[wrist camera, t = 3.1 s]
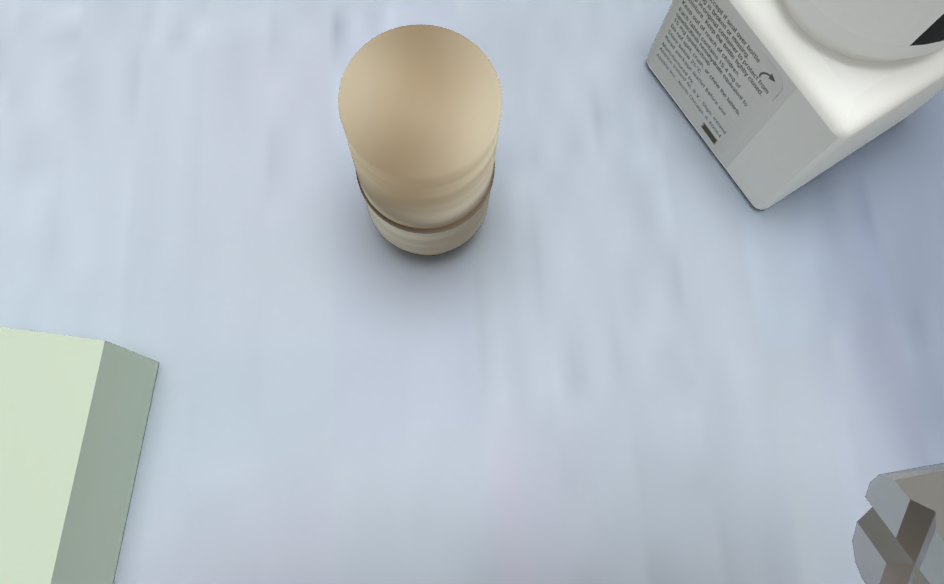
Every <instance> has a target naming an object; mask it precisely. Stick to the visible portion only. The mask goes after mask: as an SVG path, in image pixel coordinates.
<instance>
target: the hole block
mask: <svg viewBox="0 0 944 584" xmlns="http://www.w3.org/2000/svg"><path fill="white" fill-rule="evenodd" d="M158 365H159V362H157V361H155V360H152V359H150V358H147V357H145V356H142V355H140V354H137V353H135V352H132V351H130V350H127V349H125V348H122V347H120V346H117V345H115V344H112V343H110V342H107V341H104V340H96V339H88V338H81V337H73V336H65V335H58V334H50V333H42V332H35V331H27V330H19V329H12V328H4V327H0V584H113V581H114V576H115V571H116V567H117V562H118V557H119V552H120V548H121V543H122V538H123V533H124V528H125V524H126V519H127V514H128V509H129V504H130V500H131V495H132V490H133V485H134V480H135V476H136V471H137V466H138V461H139V456H140V452H141V447H142V442H143V437H144V432H145V428H146V423H147V418H148V413H149V408H150V404H151V399H152V394H153V389H154V384H155V380H156V375H157V370H158Z"/></svg>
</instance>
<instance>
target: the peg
mask: <svg viewBox="0 0 944 584" xmlns="http://www.w3.org/2000/svg"><path fill="white" fill-rule="evenodd" d="M338 106H339V113H340V119H341V122H342V125H343V128H344V132H345V135H346V138H347V142H348V145H349V148H350V152H351V155H352V158H353V161H354V165H355V168H356V174H357V180H358V183H359V186H360V189H361V192H362V194H363V196H364V198H365V201H366V204H367V207H368V211H369V214H370V217H371V219H372V221H373V223H374V225H375V227H376V228H377V230H378V231H379V232H380V233H381V234H382V236H383V237H384V238H385V239H387V240H388V241H389V242H390V243H392V244H393V245H395V246H396V247H398V248H400V249H403V250H405V251H408V252H411V253H416V254H420V255H428V256H429V255H438V254H442V253H445V252H448V251H450V250H453V249H455V248H457V247H459V246H460V245H462V244H464V243H465V242H466V241H467V240H469V239H470V238H471V237H472V236H473V235H474V234H475V233H476V232H477V230H478V229H479V227H480V226H481V224H482V222H483V220H484V218H485V215H486V212H487V208H488V203H489V196H490V189H491V187H492V183H493V178H494V169H495V152H496V145H497V138H498V131H499V124H500V117H501V109H502V93H501V86H500V82H499V79H498V76H497V73H496V71H495V69H494V67H493V65H492V63H491V62H490V60H489V59H488V57H487V56H486V55H485V53H484V52H483V51H482V50H481V49H480V48H479V47H478V46H477V45H475V44H474V43H473V42H472V41H470V40H469V39H467V38H466V37H464V36H462V35H461V34H459V33H456V32H454V31H452V30H449V29H446V28H443V27H438V26H433V25H408V26H402V27H398V28H395V29H391V30H389V31H386V32H384V33H382V34H380V35H378V36H376V37H375V38H373V39H371V40H370V41H369V42H368V43H366V44H365V45H364V46H363V47H362V48H361V49H360V50H359V51H358V52H357V53H356V54H355V55H354V57H353V58H352V59H351V61H350V62H349V64H348V66H347V67H346V69H345V72H344V74H343V77H342V79H341V83H340V87H339V95H338Z"/></svg>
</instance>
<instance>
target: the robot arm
mask: <svg viewBox="0 0 944 584" xmlns="http://www.w3.org/2000/svg"><path fill="white" fill-rule="evenodd" d="M865 497H866V499H867V500H868V501H869V503H870V504H871V506H872V508H871V509H870V510H869V511H868V512H867V513H866V514H865V515H864V516H863V517H862V518H861V519H860V520H858V521H857V524H856V528H855V532H854V536H853V539H852V543H853V550H854V557H855V563H856V565H857V567H858V570H859V572H860V574H861V577H862V579H863V581H864V582H865V584H944V463H939V464H934V465H928V466H923V467H918V468H912V469H907V470H901V471H896V472H890V473H885V474H880V475H878V476H877V477H876V478H874V479H873V480H872V481H871V482H870V484H869V487H868V490H867V493H866V496H865Z"/></svg>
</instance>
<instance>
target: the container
mask: <svg viewBox="0 0 944 584" xmlns="http://www.w3.org/2000/svg"><path fill="white" fill-rule="evenodd" d="M647 63H648V66H649V68H650V69H651V70H652V72H653V73H654V74H655V76H656V77H657V78H658V80H659V81H660V82H661V84H662V85H663V86H664V88H665V89H666V90H667V92H668V93H669V94H670V96H671V97H672V98H673V100H674V101H675V102H676V104H677V105H678V106H679V108H680V109H681V110H682V112H683V113H684V114H685V116H686V117H687V118H688V120H689V121H690V122H691V124H692V125H693V126H694V128H695V129H696V130H697V132H698V133H699V134H700V136H701V137H702V138H703V140H704V141H705V142H706V144H707V145H708V146H709V148H710V149H711V150H712V152H713V153H714V154H715V156H716V157H717V158H718V160H719V161H720V162H721V164H722V165H723V166H724V168H725V169H726V170H727V172H728V173H729V174H730V176H731V177H732V178H733V180H734V181H735V182H736V184H737V185H738V186H739V188H740V189H741V190H742V192H743V193H744V194H745V196H746V197H747V198H748V200H749V201H750V202H751V204H752V205H753V206H754V207H755V208H756V209H760V210H763V209H766V208H769V207H771V206H772V205H774V204H775V203H777V202H778V201H780V200H781V199H783V198H784V197H786V196H787V195H789V194H790V193H792V192H793V191H795V190H797V189H798V188H800V187H801V186H803V185H804V184H806V183H807V182H809V181H810V180H812V179H813V178H815V177H816V176H818V175H819V174H821V173H822V172H824V171H826V170H827V169H829V168H830V167H832V166H833V165H835V164H836V163H838V162H839V161H841V160H842V159H844V158H845V157H847V156H848V155H850V154H851V153H853V152H855V151H856V150H858V149H859V148H861V147H862V146H864V145H865V144H867V143H868V142H870V141H871V140H873V139H874V138H876V137H877V136H879V135H881V134H882V133H884V132H885V131H887V130H888V129H890V128H891V127H893V126H894V125H896V124H897V123H899V122H900V121H902V120H903V119H905V118H906V117H908V116H909V115H910V114H912V113H913V112H914V111H915V110H917V109H918V108H919V107H920V106H922V105H923V104H924V103H925V102H927V101H928V100H929V99H931V98H932V97H933V96H934V95H936V94H937V93H938V92H939V91H941V90H942V89H943V88H944V0H673V2H672V4H671V6H670V8H669V11H668V13H667V15H666V17H665V19H664V21H663V24H662V26H661V28H660V30H659V32H658V34H657V36H656V39H655V41H654V43H653V45H652V47H651V49H650V52H649V54H648V57H647Z"/></svg>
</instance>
